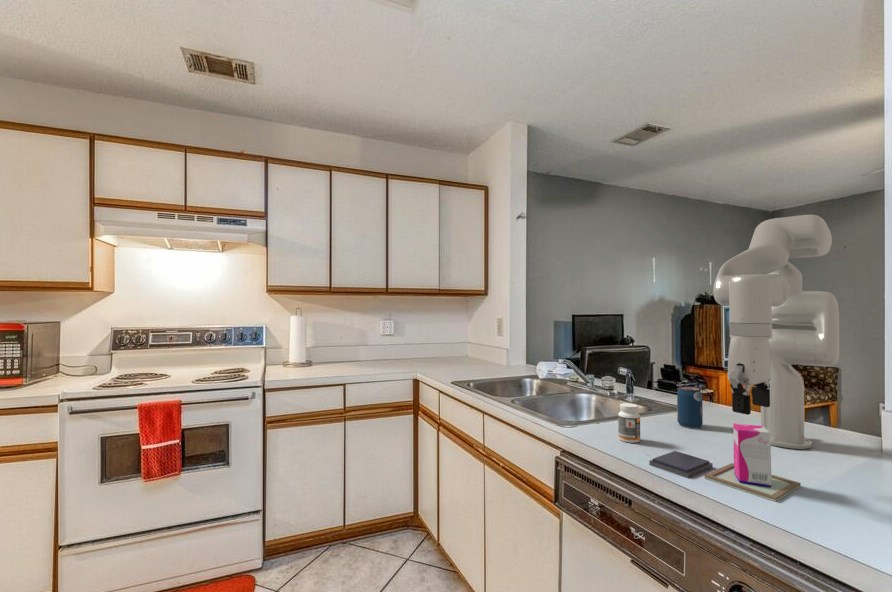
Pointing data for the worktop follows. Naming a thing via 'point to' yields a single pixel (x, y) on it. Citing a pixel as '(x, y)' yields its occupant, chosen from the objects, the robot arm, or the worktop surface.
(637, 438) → the pill bottle
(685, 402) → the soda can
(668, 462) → the pad
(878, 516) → the worktop surface
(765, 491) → the brown picture frame
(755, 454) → the supplement box
